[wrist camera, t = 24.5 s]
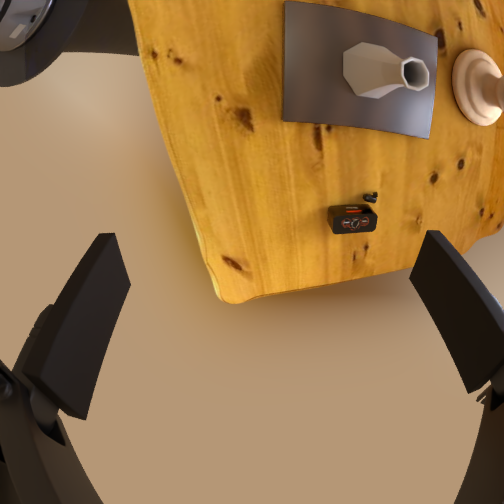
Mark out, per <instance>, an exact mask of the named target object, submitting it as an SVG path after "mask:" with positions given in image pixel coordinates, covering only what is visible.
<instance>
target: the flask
mask: <svg viewBox="0 0 504 504" xmlns="http://www.w3.org/2000/svg"><path fill="white" fill-rule="evenodd" d="M343 76H344V77H345V79H346V80H347V82H348V83H349V85H350V86H351V88H352V89H353V91H354V93H355V94H356V96H364V97H370V98H377V99H379V98H380V97H382V96H384V95H385V94H387V93H389V92H391V91H392V90H394V89H396V88H398V87H403V86H405V88H408V89H412V90H416V91H420V90H422V89H424V88H425V87H427V86H428V85H429V72H428V70H427V68H426V66H425V64H424V62H423V60H420V59H416V58H413V57H408V58H406V59H405V60H402V59H401V58H399V57H398V56H396V55H395V54H393V53H392V52H391V51H389V50H388V49H387V48H385V47H383V46H378V45H374V44H369V43H364V42H361V43H359V44H358V45H356V46H354V47H352V48H350V49H348V50H347V51H345V52H343Z"/></svg>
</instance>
